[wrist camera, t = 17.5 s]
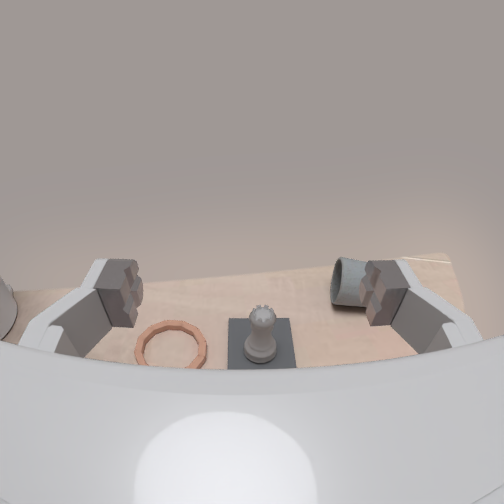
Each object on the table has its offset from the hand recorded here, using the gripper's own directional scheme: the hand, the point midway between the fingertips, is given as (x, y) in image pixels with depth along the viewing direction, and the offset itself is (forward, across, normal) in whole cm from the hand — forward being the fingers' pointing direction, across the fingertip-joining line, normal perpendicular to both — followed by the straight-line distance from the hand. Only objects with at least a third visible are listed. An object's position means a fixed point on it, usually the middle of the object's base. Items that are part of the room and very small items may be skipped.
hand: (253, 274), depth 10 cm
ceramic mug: (+28, -19, +28) cm, 44 cm away
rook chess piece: (+16, -2, +28) cm, 32 cm away
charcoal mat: (+16, -2, +28) cm, 32 cm away
